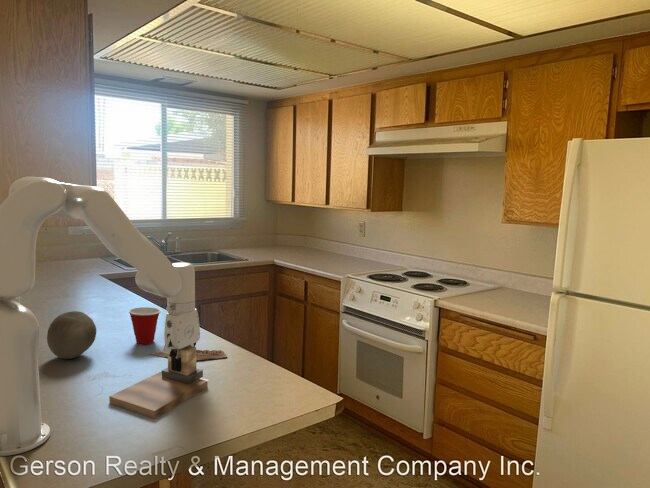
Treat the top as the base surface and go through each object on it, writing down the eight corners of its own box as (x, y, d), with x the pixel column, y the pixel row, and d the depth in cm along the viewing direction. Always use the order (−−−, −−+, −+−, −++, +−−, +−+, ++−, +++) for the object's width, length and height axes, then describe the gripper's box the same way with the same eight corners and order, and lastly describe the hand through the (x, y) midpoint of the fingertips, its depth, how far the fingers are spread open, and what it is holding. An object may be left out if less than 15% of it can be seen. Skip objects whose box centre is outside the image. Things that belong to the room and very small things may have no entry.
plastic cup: (168, 341, 174) (167, 308, 172) (141, 349, 165) (140, 315, 163) (149, 334, 180) (148, 303, 178) (123, 342, 171) (121, 310, 169)
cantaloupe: (48, 369, 147) (46, 321, 145) (47, 353, 159) (45, 309, 157) (99, 361, 155) (97, 315, 152) (94, 346, 167) (92, 304, 164)
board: (154, 418, 120) (154, 410, 120) (109, 403, 127) (109, 396, 127) (207, 387, 138) (207, 380, 138) (165, 375, 145) (165, 369, 145)
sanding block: (188, 384, 135) (188, 353, 134) (161, 377, 139) (161, 347, 138) (202, 376, 140) (202, 347, 139) (176, 369, 145) (176, 341, 143)
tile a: (200, 387, 139) (200, 385, 139) (189, 384, 141) (189, 382, 141) (209, 381, 143) (209, 379, 143) (198, 379, 145) (198, 377, 145)
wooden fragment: (232, 352, 166) (232, 349, 166) (222, 364, 155) (222, 361, 155) (159, 348, 168) (159, 345, 168) (145, 360, 157) (145, 357, 157)
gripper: (169, 315, 128) (171, 381, 130) (211, 301, 143) (211, 360, 145) (148, 311, 131) (150, 375, 134) (191, 298, 146) (192, 355, 149)
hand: (182, 367), depth 139 cm, fingers closed on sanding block, 4 cm apart
